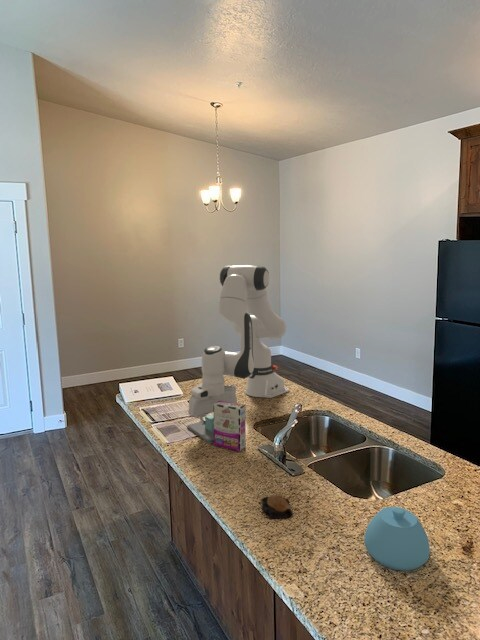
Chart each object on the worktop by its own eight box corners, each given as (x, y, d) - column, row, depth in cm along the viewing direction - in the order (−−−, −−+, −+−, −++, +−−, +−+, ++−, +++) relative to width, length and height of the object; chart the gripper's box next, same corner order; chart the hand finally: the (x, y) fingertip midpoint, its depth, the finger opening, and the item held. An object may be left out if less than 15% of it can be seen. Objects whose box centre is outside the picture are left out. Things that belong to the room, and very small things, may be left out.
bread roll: (258, 501, 136) (258, 489, 135) (286, 499, 137) (286, 487, 136) (265, 522, 125) (265, 510, 125) (295, 520, 127) (295, 507, 126)
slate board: (217, 420, 195) (217, 417, 195) (240, 435, 180) (240, 432, 180) (187, 427, 187) (187, 425, 187) (209, 443, 173) (209, 440, 172)
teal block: (215, 425, 187) (215, 413, 186) (222, 429, 183) (222, 417, 182) (205, 427, 184) (204, 415, 183) (211, 432, 180) (211, 419, 179)
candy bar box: (246, 447, 170) (246, 404, 167) (240, 452, 166) (240, 408, 163) (220, 441, 175) (219, 399, 172) (213, 446, 171) (212, 403, 168)
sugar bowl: (353, 556, 111) (355, 512, 109) (377, 526, 123) (379, 486, 121) (417, 584, 102) (421, 537, 100) (436, 549, 114) (440, 506, 112)
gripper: (231, 381, 189) (231, 413, 191) (186, 390, 178) (187, 424, 180) (239, 385, 184) (239, 418, 186) (194, 395, 173) (194, 430, 175)
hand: (213, 421), depth 183 cm, fingers open, 8 cm apart
